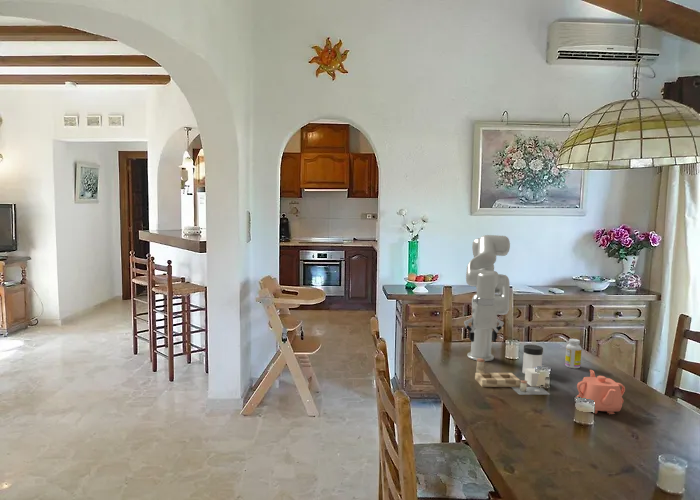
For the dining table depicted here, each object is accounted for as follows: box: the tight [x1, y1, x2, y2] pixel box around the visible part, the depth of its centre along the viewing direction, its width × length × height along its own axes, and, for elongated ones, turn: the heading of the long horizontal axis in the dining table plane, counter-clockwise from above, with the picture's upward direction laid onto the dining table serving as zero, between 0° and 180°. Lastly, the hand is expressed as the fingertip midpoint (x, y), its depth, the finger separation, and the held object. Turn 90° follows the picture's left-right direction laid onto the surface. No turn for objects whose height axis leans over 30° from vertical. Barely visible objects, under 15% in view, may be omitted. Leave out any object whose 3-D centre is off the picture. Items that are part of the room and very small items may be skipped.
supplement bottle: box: [564, 338, 583, 369], centre depth 240 cm, size 7×7×13 cm
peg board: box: [474, 372, 521, 388], centre depth 214 cm, size 9×16×3 cm, turn 95°
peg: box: [475, 358, 486, 373], centre depth 221 cm, size 3×3×8 cm
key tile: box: [510, 379, 552, 396], centre depth 206 cm, size 8×13×4 cm, turn 95°
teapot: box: [576, 369, 626, 415], centre depth 190 cm, size 15×17×13 cm
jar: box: [521, 344, 544, 375], centre depth 229 cm, size 9×8×12 cm
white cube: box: [524, 369, 540, 387], centre depth 214 cm, size 6×6×6 cm
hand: (482, 340), depth 219 cm, fingers open, 9 cm apart
